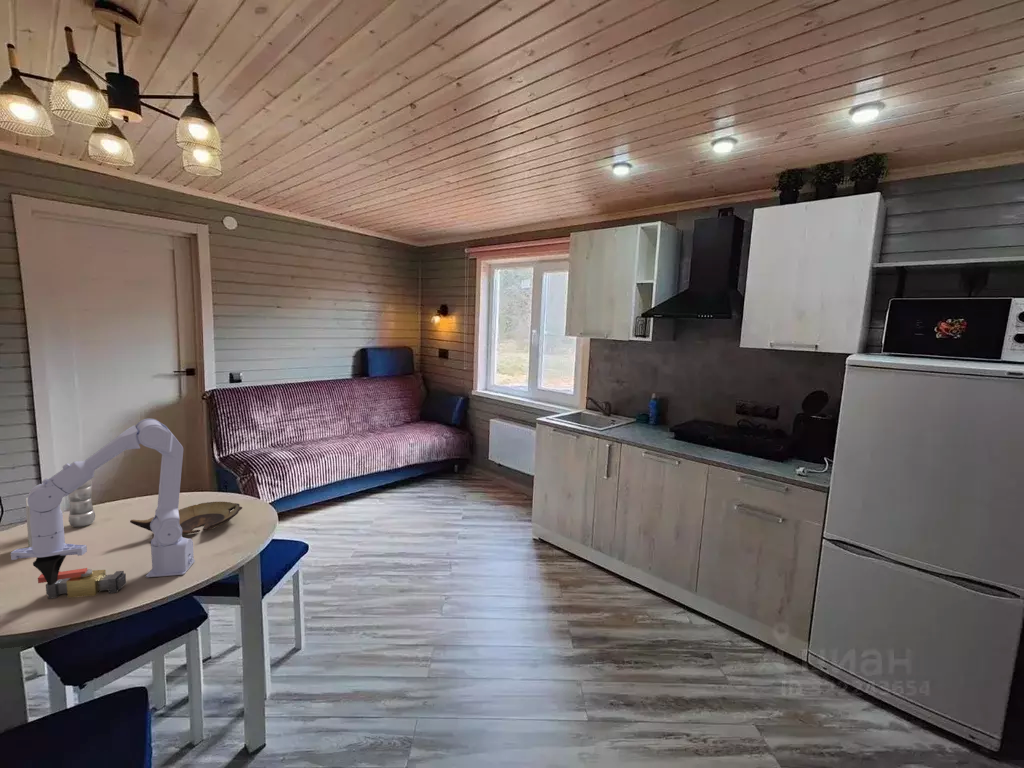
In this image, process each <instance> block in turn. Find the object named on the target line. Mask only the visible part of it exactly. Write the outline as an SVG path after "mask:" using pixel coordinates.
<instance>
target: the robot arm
mask: <svg viewBox="0 0 1024 768" xmlns="http://www.w3.org/2000/svg"><path fill="white" fill-rule="evenodd" d="M140 445H142V446H143V447H146V448H148V449H152V450H155V451H156V452H158V453H159V454H161V459H160V460H161V462H160V471H159V472H160V474H159V483H158V485H159V486H158V495H157V496H158V497H157V505H156V509H155V513H154V516H153V517H154V518H153V520H152V521H151V523H150V528H151V530H152V531H151V532H152V533H153V538H152V539H150V549H151V550H150V551H151V555H150V556H151V570H150V571H149V572H148V573H147V574H146V575H145V578H156V577H157V578H158V577H167V576H168V577H169V576H170V577H172V576H182V575H185V574H186V572H187V571H188V570H189V569H190V568H191V566H192V565H193V564H194V563H195V561H196V559H194V557H195V556H194V541H193V539H192V538H187V537H183V534H182V528H181V526H180V524H179V511H178V510H179V503H180V494H181V493H180V491H181V481H182V480H181V479H182V469H183V460H184V459H183V458H184V457H183V456H184V447H183V445H182V444H181V442H179V440H178V439H177V437H176V436H175V435H174V434H173V432H172V431H171V430H170V429H169V428H168V426H167V425H166V424H163V422H160V421H159V420H158V419H156V418H145V419H142V420H140V421H138V422H137V423H136V424H133V425H132V426H130V427H128V428H127V429H125V430H124V431H122V432H121V433H120V434H118V435H117V436H116V437H115V438H113V439H112V440H109V442H108V443H106V444H105V445H104V446H103V447H101V448H100V449H98V450H97V451H96V452H95V453H93V454H92V455H90V456H89V457H88V458H86V459H85V460H76V461H73V462H72V463H68V462H67V463H65V464H64V465H62V469H60V471H58V472H57V473H56V474H54V475H52V476H51V477H49V478H44V479H43V480H42V482H41V483H39V484H37V485H35V486H33V487H32V488H31V489H30V490H29V492H28V495H27V498H28V505H29V507H30V508H31V509H30V515H31V516H30V526H31V536H32V547H29V546H28V547H23V548H16V549H14V550H12V551H11V552H10V558H11V559H10V560H11V561H15V560H18V559H26V558H27V559H28V558H36V559H35V560H34V561H33V562H32V565H33V567H35V569H37V570H38V571H39V572H40V573H41V574H43V576H44V577H45V579H46V581H47V582H46V584H48V585H52V584H53V583H55V582H56V581H57V577H58V573H59V571H61V570H60V569H61V566H62V564H63V562H64V560H65V559H66V557H67V556H74V555H77V556H78V557H79V556H83V555H84V554H86V553H88V549H87V544H75V543H66V541H65V539H66V538H65V528H64V517H63V516H64V515H63V510H61V504H62V501H63V498H65V497H68V495H69V494H70V493H72V492H73V491H75V490H76V489H78V488H79V487H80V486H82V485H83V484H85V483H86V482H87V481H89V480H90V479H91V480H92V479H93V478H94V477H95V470H97V469H98V468H100V467H102V466H103V465H105V464H107V463H108V462H109V461H111V460H112V459H114V458H115V457H117V456H119V455H120V454H122V453H123V452H124V451H127V450H137V449H138V450H140V449H141V446H140Z"/></svg>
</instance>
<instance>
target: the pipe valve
mask: <svg viewBox="0 0 1024 768" xmlns="http://www.w3.org/2000/svg"><path fill="white" fill-rule="evenodd" d="M91 570H92V572H93V573H92V575H90V576H87V577H80V576H79V577H73V578H66V579H59V580H57V581H56V582H55V583H53V584H52V585H48V584H47V583H46V584H45V591H46V592H45V593H46V595H47V598H48V599H56V598H58V597H59V596H60V595H62V594H67V598H68V599H69V598H80V597H93V596H97V595H98V594H100V592H101V591H108V594H117V593H118V592H119V591H120V589H122V588H123V587H124V586H125V585H126V584H127V577H126V572H124V570H116V571H115V572H114V573H113V574H107V573H106V569H97V570H95V569H94V570H93V569H91Z"/></svg>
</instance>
